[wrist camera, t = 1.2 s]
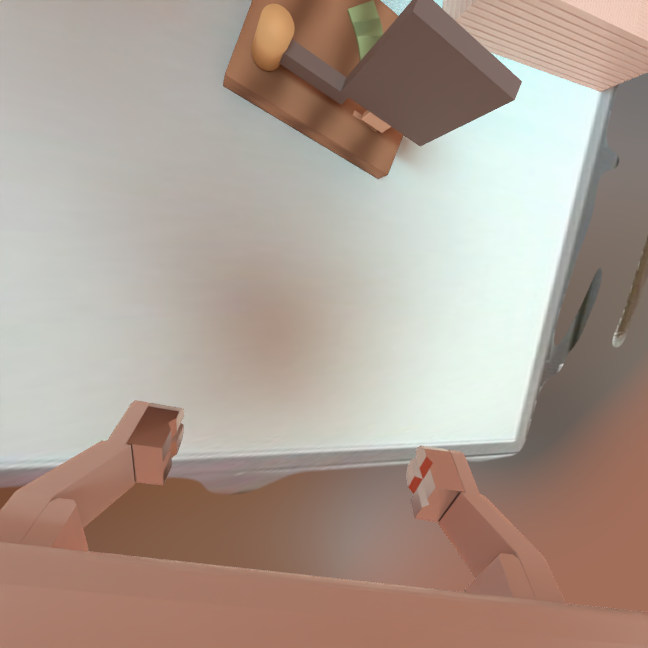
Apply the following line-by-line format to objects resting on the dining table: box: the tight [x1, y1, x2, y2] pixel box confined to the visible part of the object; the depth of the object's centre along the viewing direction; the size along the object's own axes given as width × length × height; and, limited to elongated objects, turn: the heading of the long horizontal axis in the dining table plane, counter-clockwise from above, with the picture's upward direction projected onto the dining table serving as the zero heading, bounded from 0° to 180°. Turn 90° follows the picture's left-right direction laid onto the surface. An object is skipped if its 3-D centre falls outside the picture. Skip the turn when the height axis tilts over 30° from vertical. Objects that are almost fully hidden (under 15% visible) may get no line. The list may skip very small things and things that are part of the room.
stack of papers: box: [442, 0, 648, 92], centre depth 46 cm, size 32×11×11 cm, turn 87°
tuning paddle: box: [251, 0, 522, 146], centre depth 33 cm, size 21×3×16 cm, turn 67°
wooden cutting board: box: [223, 0, 403, 179], centre depth 41 cm, size 21×16×3 cm
